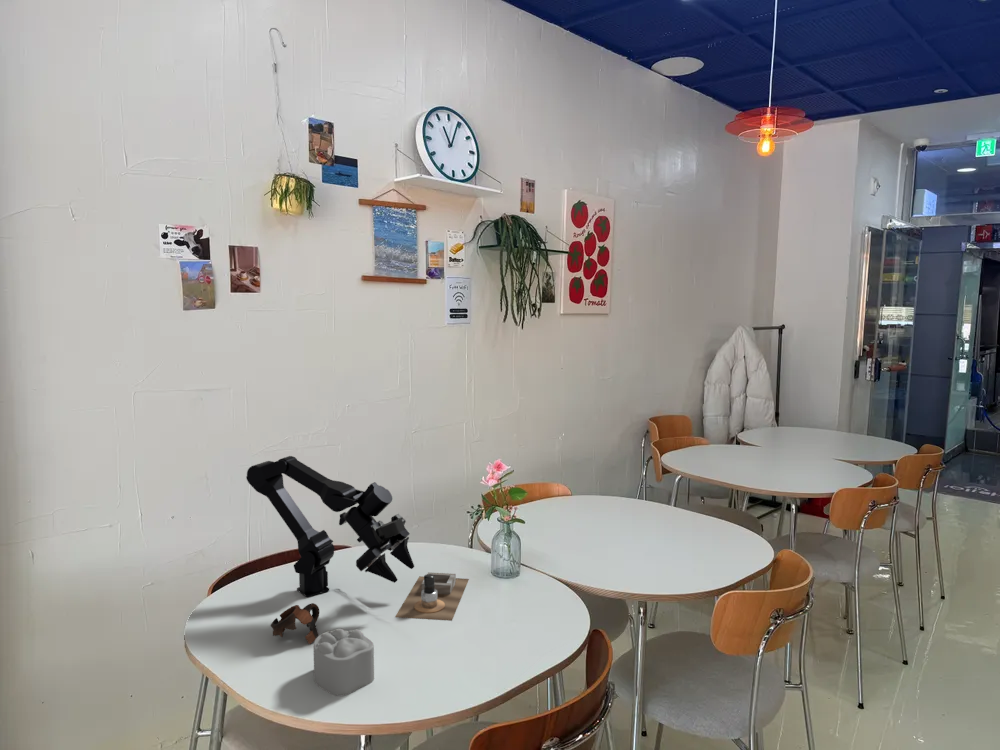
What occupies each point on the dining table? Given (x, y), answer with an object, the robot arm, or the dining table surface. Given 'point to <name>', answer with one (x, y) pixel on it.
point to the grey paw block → (343, 661)
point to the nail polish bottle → (429, 592)
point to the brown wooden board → (447, 598)
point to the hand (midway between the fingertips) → (404, 574)
